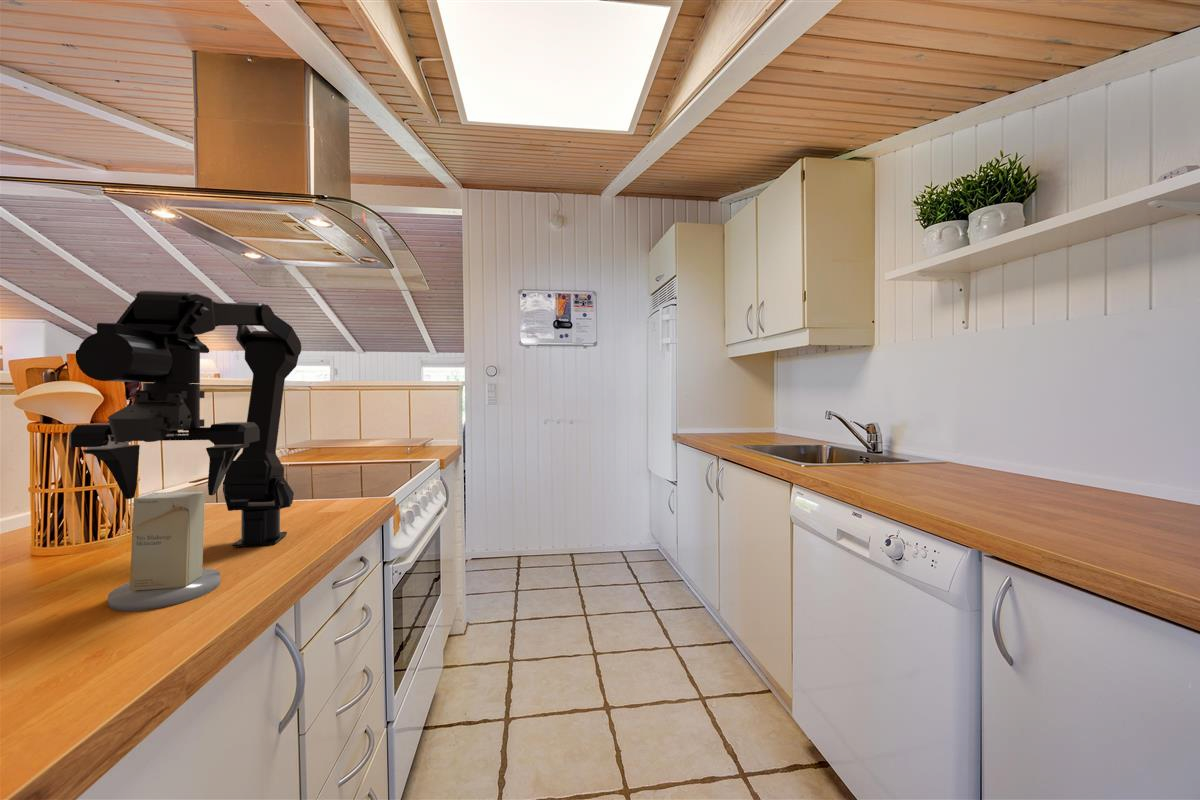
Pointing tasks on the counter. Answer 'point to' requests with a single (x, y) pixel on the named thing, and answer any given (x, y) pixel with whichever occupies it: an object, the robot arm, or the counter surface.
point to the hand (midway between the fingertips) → (171, 496)
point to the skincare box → (167, 540)
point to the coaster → (162, 594)
